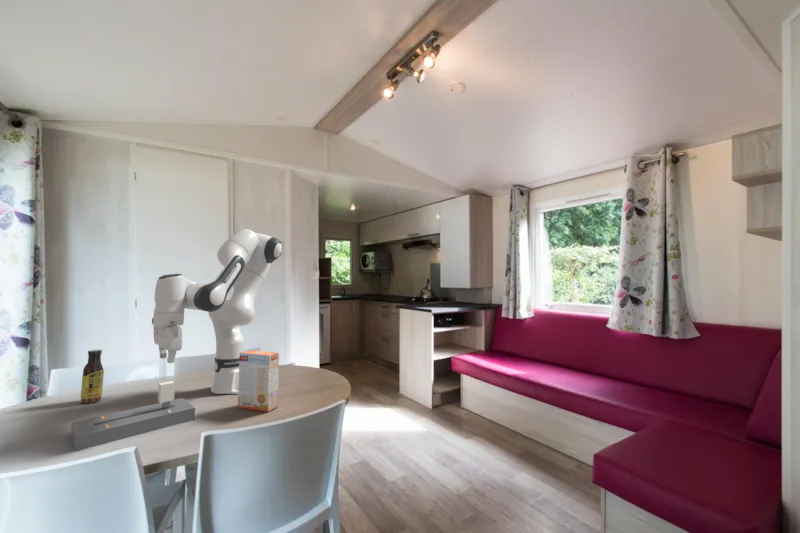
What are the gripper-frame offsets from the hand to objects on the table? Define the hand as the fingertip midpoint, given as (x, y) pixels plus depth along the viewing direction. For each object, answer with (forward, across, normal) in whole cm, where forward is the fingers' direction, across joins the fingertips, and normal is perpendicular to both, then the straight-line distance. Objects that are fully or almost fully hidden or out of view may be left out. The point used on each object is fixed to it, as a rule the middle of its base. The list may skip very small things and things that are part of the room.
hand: (166, 360), depth 118 cm
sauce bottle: (+21, +41, +14) cm, 48 cm away
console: (+20, 0, +8) cm, 22 cm away
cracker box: (+20, -12, -28) cm, 36 cm away
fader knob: (+16, 0, 0) cm, 16 cm away
